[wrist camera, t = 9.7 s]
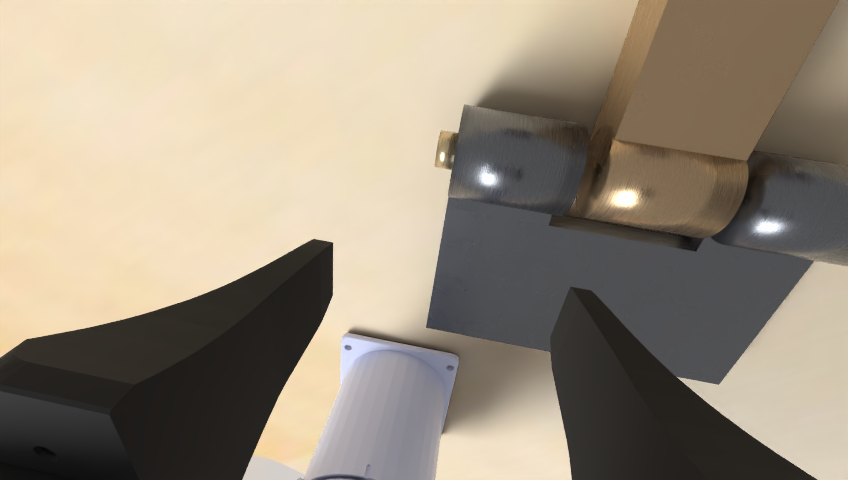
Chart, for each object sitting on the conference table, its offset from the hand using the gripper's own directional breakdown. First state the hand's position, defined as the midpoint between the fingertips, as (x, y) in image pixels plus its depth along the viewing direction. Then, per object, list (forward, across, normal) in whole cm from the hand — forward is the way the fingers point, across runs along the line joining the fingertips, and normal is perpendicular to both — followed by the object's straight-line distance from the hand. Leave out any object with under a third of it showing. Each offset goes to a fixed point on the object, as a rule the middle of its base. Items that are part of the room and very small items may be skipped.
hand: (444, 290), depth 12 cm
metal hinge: (+9, -8, +3) cm, 13 cm away
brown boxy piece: (+9, -8, -5) cm, 14 cm away
